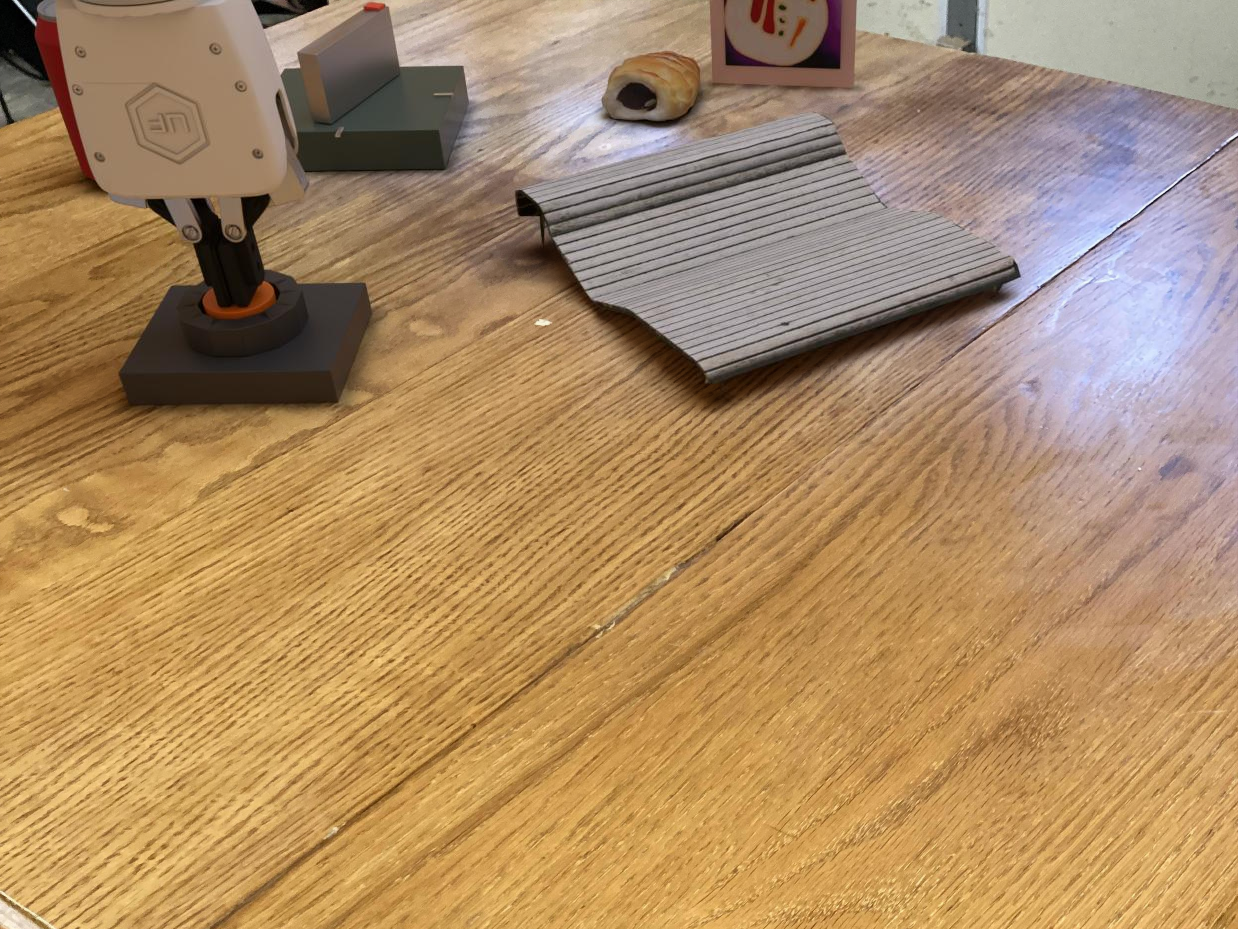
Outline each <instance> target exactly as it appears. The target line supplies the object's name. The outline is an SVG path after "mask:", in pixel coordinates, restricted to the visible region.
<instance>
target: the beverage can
mask: <svg viewBox="0 0 1238 929" xmlns="http://www.w3.org/2000/svg"><path fill="white" fill-rule="evenodd" d="M55 1H56V0H42V1H41V2H39V3H38V5H37V7H36V11H37V12H36V13H37V19H36V25H35V29H34V39H35V42H36V45H37V47H38V50H39V53H40V57H41V59H42V63H43V65H44V69H45V71H46V75H47V77H48V80H49V82H50V86H51V89H52V92H53V94H54V98H55V100H56V104H57V106H58V109H59V111H60V115H61V117H62V120H63V123H64V126H65V128H66V131H67V134H68V137H69V140H70V142H71V145H72V149H73V151H74V153H75V156H76V159H77V162H78V164H79V165H78V166H79V167H80V170H81V172H82V174H83V175H84V176H85V177H87V178H89V179H91V180H93V181H96V180H95V178H94V176H93V173H92V171H91V168H90V165H89V162H88V160H87V157H86V153H85V150H84V147H83V143H82V140H81V136H80V133H79V129H78V125H77V122H76V118H75V114H74V110H73V106H72V102H71V98H70V93H69V89H68V84H67V80H66V74H65V69H64V64H63V59H62V53H61V47H60V41H59V34H58V28H57V19H56V9H55ZM99 156H100V155H99Z"/></svg>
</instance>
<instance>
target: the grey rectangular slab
mask: <svg viewBox="0 0 1238 929" xmlns="http://www.w3.org/2000/svg"><path fill="white" fill-rule="evenodd" d="M296 55H297V60H298V63H299V68H301V73H302V77H303V81H304V86H305V90H306V94H307V99H308V103H309V108H310V112H311V116H312V121H313V122H320V123H327V124H332V123H334V122H335V121H336V120H338V119H339V118H340V117H342V116H343V115H344V114H346V113H347V112H348V111H350V110H351V109H353V108H354V107H355V106H357V105H358V104H359V103H361V102H362V101H363V100H365V99H366V98H367V97H369V96H370V95H372V94H373V93H374V92H376V91H377V90H378V89H380V88H381V87H382V86H384V85H385V84H386V83H388V82H389V81H391V80H392V79H393V78H395V77H396V76H397V75H399V74H400V73H401V71H400V67H401V66H400V60H399V56H398V50H397V44H396V39H395V34H394V28H393V22H392V16H391V11H390V7H389V6H388V5H386V3H383V2H373V1H369V2H368V3H366V4H364V5H363V8H362V9H361V10H359V11H358V12H356V13H355V14H353V15H351V16H350V17H348V18H347V19H346V20H344V21H342V22H341V23H339V24H338V25H336V26H335V27H333V28H331V29H330V30H329V31H327V32H325V33H324V34H322V35H321V36H319V37H318V38H316V39H315V40H313V41H312V42H310V43H309V44H307V45H306V46H304V47H302V48H301V49H299V50H298V51H296Z"/></svg>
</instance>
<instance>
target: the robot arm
mask: <svg viewBox="0 0 1238 929" xmlns="http://www.w3.org/2000/svg"><path fill="white" fill-rule="evenodd" d="M55 9H56V19H57V28H58V34H59V41H60V47H61V53H62V59H63V64H64V69H65V74H66V80H67V84H68V89H69V93H70V98H71V102H72V106H73V110H74V114H75V118H76V122H77V125H78V129H79V133H80V136H81V140H82V143H83V147H84V150H85V153H86V157H87V160H88V162H89V165H90V168H91V171H92V173H93V176H94V178H95V180H94V181H95V182H96V183H97V185H98V186H99V187H100V189H101V190H103V191H104V192H106V193H107V194H108V197H109V198H110V200H111V201H113V202H114V203H116V204H118V205H123V206H128V207H134V208H139V209H144V210H146V209H150V210H151V211H152V212H154V213H155V214H156V215H158V216H160V218H162V219H164V220H165V221H166V222H167V223H169V224H170V225H172V226H173V227H174V228H177V231H178V233H179V236H180V237H181V238H182V239H183V240H184V241H185V242H187V243H190V244H192V245H193V250H194V252H195V256H196V259H197V262H198V265H199V269H200V272H201V274H202V278H203V281H205V284H206V285H207V286H208V287H210V286H212V287H213V290H214V294H215V297H216V300H217V304H218V306H219V307H230V305H233V303H234V304H235V305H237V306H238V307H248V306H249V304H250V302H251V300H252V298H253V296H254V294H255V292H256V290H257V288H258V287H259V286H260V285H262V283H263V281H264V277H265V272H264V270H265V266H264V263H263V259H262V256H261V252H260V248H259V244H258V241H257V237H256V234H255V230H254V226H255V224H256V223H257V221H258V220H259V219H260V218H261V217H262V215H263V214H264V213H265V211H266V210H267V208H268V209H269V208H272V207H279V206H282V205H286V204H289V203H293V202H297V201H301V200H302V199H303V198H304V197H305V195H306V193H307V191H308V189H309V187H310V180H309V178H308V176H307V174H306V171H304V170H303V168H302V166H301V164H300V162H299V160H298V158H297V156H296V155H297V153H298V138H297V133H296V128H295V124H294V119H293V116H292V112H291V108H290V105H289V101H288V98H287V95H286V92H285V88H284V85H283V82H282V79H281V76H280V75H281V73H280V70H279V67H278V64H277V61H276V58H275V56H274V53H273V50H272V47H271V45H270V42H269V39H268V37H267V34H266V32H265V29H264V26H263V24H262V22H261V20H260V18H259V14H258V13H257V11H256V9H255V6H254V4H253V2H252V0H56V1H55ZM99 155H100V156H99ZM214 198H216V199H217V200H218V207H219V215H220V217H219V215H218V214H216V208H215V206H214V204H213V202H212V199H214Z"/></svg>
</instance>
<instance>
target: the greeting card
mask: <svg viewBox="0 0 1238 929" xmlns="http://www.w3.org/2000/svg"><path fill="white" fill-rule="evenodd" d="M857 4H858V0H709V20H710V48H711V49H710V51H711V79H712V80H711V82H712V84H731V85H733V84H735V85H759V86H760V85H761V86H762V85H763V86H764V85H767V86H792V87H795V86H796V87H819V88H820V87H821V88H823V87H824V88H827V87H828V88H852V89H853V88H855V70H856V68H855V66H856V64H855V63H856V36H857V34H856V33H857V7H858V6H857Z"/></svg>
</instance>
